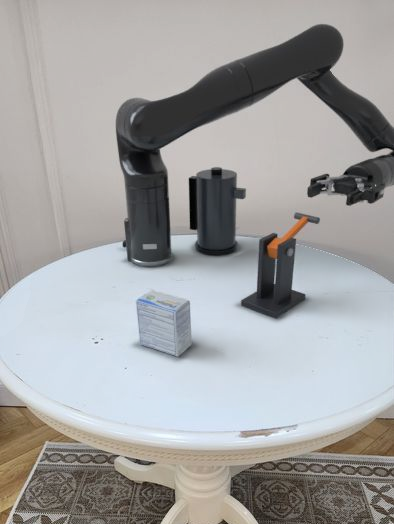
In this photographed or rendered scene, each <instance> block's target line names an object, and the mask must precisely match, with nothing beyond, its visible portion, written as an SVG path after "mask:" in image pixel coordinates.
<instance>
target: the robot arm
mask: <svg viewBox="0 0 394 524" xmlns="http://www.w3.org/2000/svg"><path fill="white" fill-rule="evenodd" d="M344 45H345V44H344V38H343V35H342V33H341V32H340V30H338V29H337V28H336V27H335V26H333V25H331V24H328V23H318V24H315V25H312V26H310V27H309V28H307V29H306V30H304V31H301V32H300V33H298V34H297V35H295V36H293V37H291V38H289V39H288V40H285V41H284V42H282V43H279V44H277V45H274V46H271V47H269V48H265V49H262V50H259V51H256V52H254V53H251V54H248V55H246V56H244V57H241V58H237V59H235V60H233V61H230V62H228V63H225V64H223V65H220V66H218V67H216V68H214V69H212V70H210V71H209V72H208V73H206V74H205V75H204V76H203V77H202V78H200V79H199V80H198V81H197V82H196V83H195V84H193V85H192V86H191V87H190V88H188V89H186V90H184V91H182V92H180V93H176V94H174V95H171V96H169V97H165V98H162V99H161V98H160V99H158V100H149V99H145V98H142V97H131V98H128V99H126V100H125V101H124V102H122V104H121V105H120V106H119V108H118V109H117V112H116V116H115V136H116V137H115V138H116V145H117V153H118V162H119V166H120V169H121V172H122V175H123V182H124V192H125V202H126V204H125V205H126V215H127V217H125V219H124V220H123V225H124V226H123V227H124V236H125V240H123V241H122V248H124V249H125V248H126V256H127V257H126V258H127V261H129V262H131V263H132V264H134V265H136V266H140V267H147V268H148V267H149V268H151V267H159V266H163V265H166V264H168V263H170V262H171V261H172V260H173V252H172V251H173V250H172V233H171V232H172V231H171V212H170V211H171V209H170V187H169V170H168V168H167V166H166V164H165V162H164V160H163V158H162V154H161V149H163V148H165V147H166V146H168V145H170V144H171V143H173V142H175V141H176V140H178V139H180V138H183V137H184V136H185V135H187V134H189V133H190V132H192V131H195V130H196V129H199V128H201V127H203V126H205V125H209V124H211V123H214V122H216V121H219V120H221V119H223V118H226V117H228V116H231V115H234V114H236V113H239V112H241V111H243V110H245V109H248V108H250V107H252V106H254V105H256V104H257V103H259V102H262V101H263V100H265V99H266V98H267V97H269V96H270V95H272V94H273V93H275V92H276V91H278V90H279V89H281V88H282V87H284V86H285V85H287V84H288V83H290V82H292V81H293V80H295V79H297V81H299V82H300V83H301V84H302V85H303V86H305V88H307V89H308V90H309V91H310V92H311V93H312V94H313V95H315V96H316V97H317V98H318V99H319V100H320V101H321V102H323V103H324V105H326V106H327V107H328V108H329V109H330V110H331V111H332V112H334V114H336V115H337V116H338V117H339V118H340V119H341V121H343V123H344V124H345V125H346V126H347V127H348V128H349V130H350V131H351V132H352V133H353V134H354V136H355V137H356V138H357V139H358V141H359V142H360V143H361V144H362V146H363V147H364V148H365V149H366V150H367V151H368V152H369V153H376V152H379V151H381V150H385V149H387V150H391V151H390V152H389V153H386V154H380V155H378V156H376V157H373V158H368V159H365V160H362V161H360V162H357V163H355V164H353V165H350V166H349V167H348V168H347V169H345V171H344V172H343V173H342V174H341V175H339V176H330V174H329V173H323V174H320V175H317V176H314V177H313V178H310V181H309V182H310V184H309V186H308V187H307V192H306V195H307V197H308V198H311V199H312V198H314V197H317V196H320V195H322V194H326V195H327V196H339V195H340V196H341V197H343V196H346V201H345V205H346V206H349V207H351V206H353V205H355V204H357V203H360V204H362V203H365V202H364V201H366V202H367V204H370V205H371V204H375V203H376V202H377V201H379V200H381V199H382V198H383V197H384V193H385V189H386V188H390V187H393V186H394V126H393V125H392V124H391V122H390V121H389V120H388V119H387V118H386V116H385V115H384V114H383V112H382V111H381V110H380V108H378V107H377V105H376V104H374V103H373V101H371V100H370V99H368V98H367V97H365V96H363V95H361V94H360V93H358V92H356V91H354V90H353V89H351V88H349V87H348V86H347V85H345V84H344V83H343V82H342V81H340V80H339V78H338V77H337V76H336V75H335V74H334V73H333V74H334V75H335V76H336V77H335V76H334V75H333V74H332V72H333V71H332V69H333V68H334V67H335V66H336V65H337V63H338V62H339V61H340V58H341V57H342V54H343V51H344V47H345V46H344ZM330 69H331V71H332V72H331V71H330ZM332 188H333V190H332Z"/></svg>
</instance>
